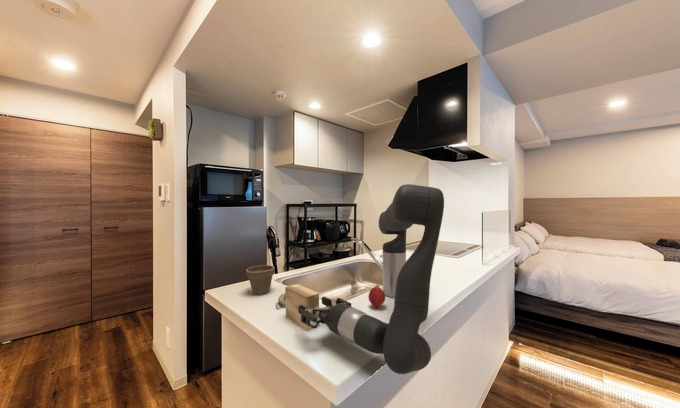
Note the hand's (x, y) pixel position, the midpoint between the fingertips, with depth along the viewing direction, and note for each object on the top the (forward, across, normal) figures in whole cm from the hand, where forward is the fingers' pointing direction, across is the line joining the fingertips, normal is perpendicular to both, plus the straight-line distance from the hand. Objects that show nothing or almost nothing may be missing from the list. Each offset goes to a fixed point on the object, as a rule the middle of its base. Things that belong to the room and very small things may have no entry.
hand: (311, 304), depth 75 cm
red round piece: (-5, -25, +7) cm, 26 cm away
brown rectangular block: (+5, 0, +7) cm, 9 cm away
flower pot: (+38, -2, +7) cm, 39 cm away
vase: (+19, -2, +7) cm, 21 cm away
